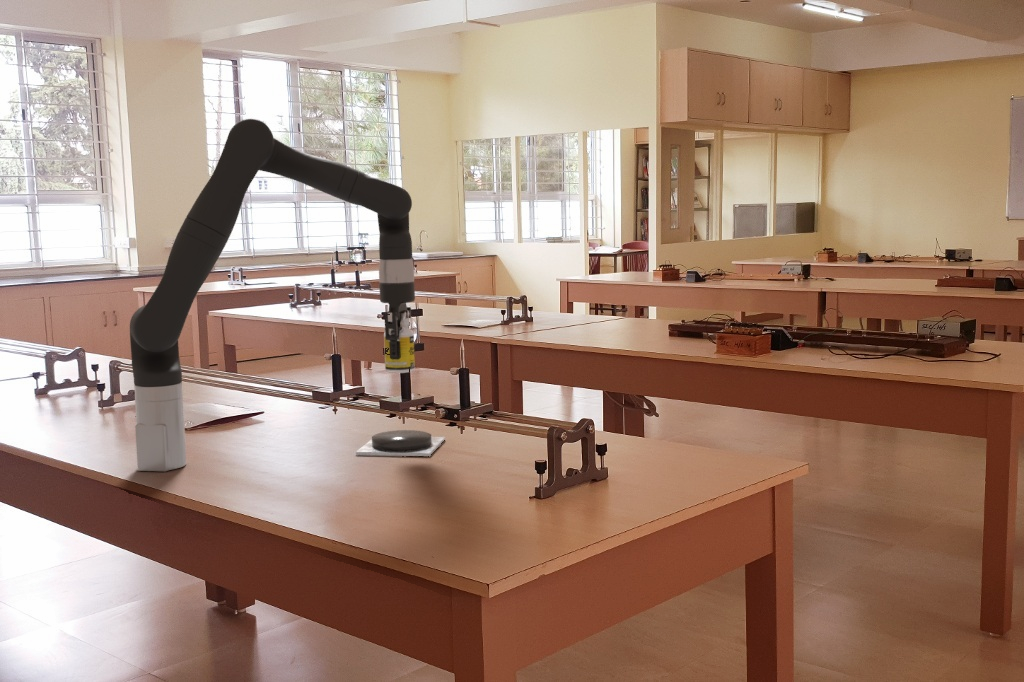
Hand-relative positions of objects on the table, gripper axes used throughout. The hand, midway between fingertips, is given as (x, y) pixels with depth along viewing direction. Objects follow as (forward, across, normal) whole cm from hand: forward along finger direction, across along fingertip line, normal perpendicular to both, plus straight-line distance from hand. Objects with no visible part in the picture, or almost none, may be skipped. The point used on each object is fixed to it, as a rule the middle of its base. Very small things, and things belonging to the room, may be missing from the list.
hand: (399, 356), depth 217 cm
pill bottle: (+3, 0, 0) cm, 3 cm away
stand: (+20, 0, 0) cm, 20 cm away
